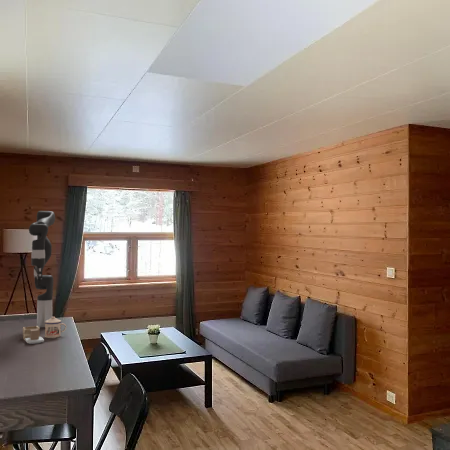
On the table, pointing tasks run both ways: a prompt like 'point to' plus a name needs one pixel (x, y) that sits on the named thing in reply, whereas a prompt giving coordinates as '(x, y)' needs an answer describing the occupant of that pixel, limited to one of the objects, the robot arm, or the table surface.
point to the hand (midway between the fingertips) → (37, 284)
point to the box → (27, 331)
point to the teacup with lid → (53, 328)
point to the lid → (34, 337)
